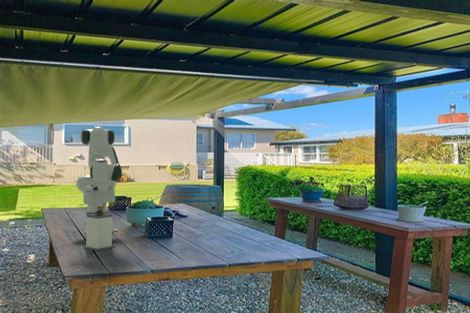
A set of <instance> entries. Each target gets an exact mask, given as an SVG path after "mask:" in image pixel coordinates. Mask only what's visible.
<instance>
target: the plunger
mask: <svg viewBox="0 0 470 313" xmlns="http://www.w3.org/2000/svg"><path fill="white" fill-rule="evenodd" d="M97 208H99V209H98V211H97V212H95V214H98V215H101V214H105V212H106V211H105V212H103V206H97Z"/></svg>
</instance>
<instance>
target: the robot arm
mask: <svg viewBox="0 0 470 313" xmlns="http://www.w3.org/2000/svg"><path fill="white" fill-rule="evenodd" d="M79 139H80V142H81V143H82V144H83V145H86V146H89V147H88V160H87V161H88V164H87V166H88V167H89V175H81V176H79V177H78V178H77V179H76V182H75V183H76V188H77V190H78V191H80V192H81V193H82V194H83V198H82V200H83V204H85V205H87V210H86V211H87V212H86V215H87V214H93V213H95V212H97V211H98V209H99V208H97V206H103V212H105V213H108V214H110V212H109V211H106V206H107V203H114V202H115V201H116V195H115V188H116V187H117V182H118V181H119V180H120V179H122V176H123V170H122V167H121V164H120V162H119V159H118V156H117V152H116V150H115V148H114V146H112V145H113V144H114V143H115V141H116V135H115V132H114V130H113V129H105V127H102V126H95V127H93V128H91V129H89V128H86V129H82V131H81V133H80V136H79ZM106 158H108V159H109V160H110V163H111V164H110V163H109V164H108V160H107V159H106ZM114 223H115V222H113V221H112V233H113V232H116V231H117V232H118V228H115V225H114ZM86 228H87V223H86V224H85V230H84V234H86Z"/></svg>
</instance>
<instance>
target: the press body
mask: <svg viewBox="0 0 470 313" xmlns="http://www.w3.org/2000/svg"><path fill="white" fill-rule="evenodd" d="M108 213H109V212H108ZM108 213H105V214H101V215H98V214H95V213H93V214H87V213H86V224H87V228H86V227H85V229H86V233H85V234H86V238H85V240H86V241H85V246H83V249H85V250H91V251H95V252H101V251H105V250H109V249H114V248H115V245H112V243H113V242H112V241H113V239H112V238H113V232H112V222H113V214H112V213H109V214H108Z"/></svg>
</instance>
